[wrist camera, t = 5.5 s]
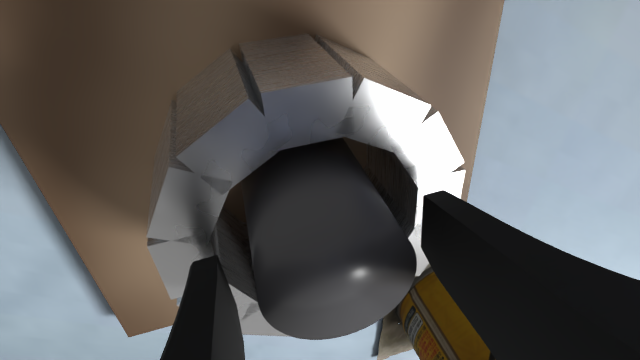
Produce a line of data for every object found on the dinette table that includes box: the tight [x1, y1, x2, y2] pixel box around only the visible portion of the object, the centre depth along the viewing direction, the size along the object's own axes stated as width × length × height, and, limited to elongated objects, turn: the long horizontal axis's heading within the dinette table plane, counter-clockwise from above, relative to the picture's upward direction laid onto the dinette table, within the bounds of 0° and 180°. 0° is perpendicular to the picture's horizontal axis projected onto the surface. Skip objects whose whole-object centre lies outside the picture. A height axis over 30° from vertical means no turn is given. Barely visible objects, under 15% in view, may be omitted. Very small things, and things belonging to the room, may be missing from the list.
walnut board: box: [0, 0, 504, 337], centre depth 15 cm, size 16×14×1 cm
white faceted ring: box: [146, 33, 465, 337], centre depth 13 cm, size 9×9×4 cm
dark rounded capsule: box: [241, 137, 417, 340], centre depth 12 cm, size 4×4×6 cm
